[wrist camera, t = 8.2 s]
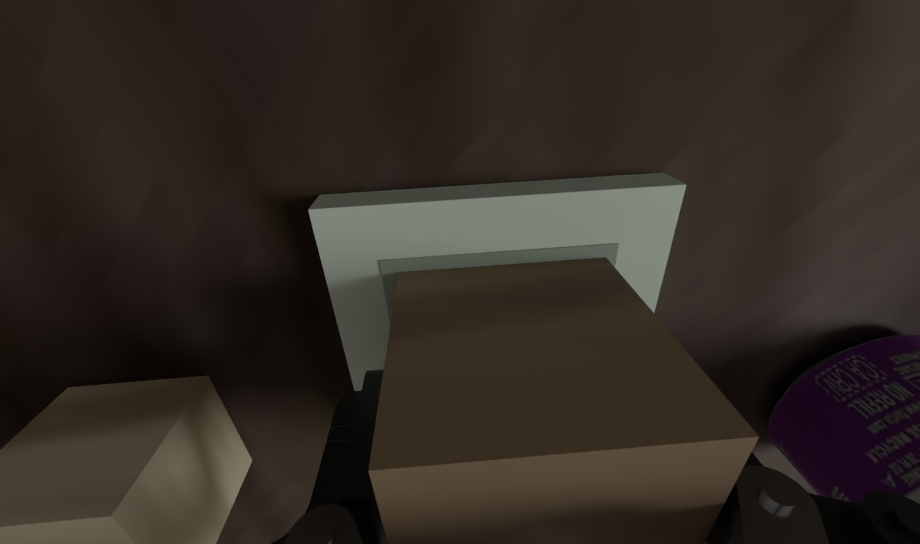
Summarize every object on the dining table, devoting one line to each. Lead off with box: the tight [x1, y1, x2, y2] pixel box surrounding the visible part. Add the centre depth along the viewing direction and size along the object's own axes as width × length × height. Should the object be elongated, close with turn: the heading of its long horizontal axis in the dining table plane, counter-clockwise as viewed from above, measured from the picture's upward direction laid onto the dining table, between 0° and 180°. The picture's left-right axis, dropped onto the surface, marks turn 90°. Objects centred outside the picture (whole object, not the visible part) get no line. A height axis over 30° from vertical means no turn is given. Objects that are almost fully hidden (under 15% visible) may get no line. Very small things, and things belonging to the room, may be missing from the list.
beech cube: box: [0, 376, 252, 544], centre depth 13 cm, size 5×5×5 cm
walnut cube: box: [368, 257, 759, 544], centre depth 10 cm, size 6×6×6 cm
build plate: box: [308, 173, 686, 391], centre depth 13 cm, size 10×10×1 cm
